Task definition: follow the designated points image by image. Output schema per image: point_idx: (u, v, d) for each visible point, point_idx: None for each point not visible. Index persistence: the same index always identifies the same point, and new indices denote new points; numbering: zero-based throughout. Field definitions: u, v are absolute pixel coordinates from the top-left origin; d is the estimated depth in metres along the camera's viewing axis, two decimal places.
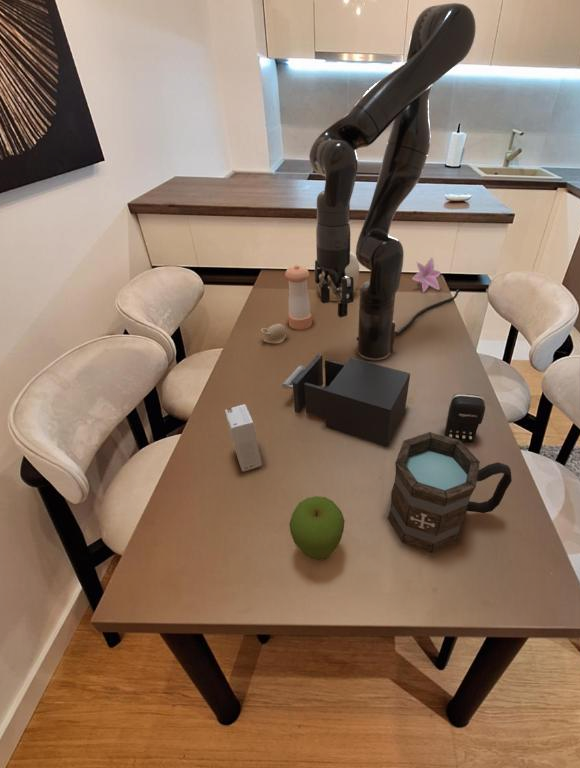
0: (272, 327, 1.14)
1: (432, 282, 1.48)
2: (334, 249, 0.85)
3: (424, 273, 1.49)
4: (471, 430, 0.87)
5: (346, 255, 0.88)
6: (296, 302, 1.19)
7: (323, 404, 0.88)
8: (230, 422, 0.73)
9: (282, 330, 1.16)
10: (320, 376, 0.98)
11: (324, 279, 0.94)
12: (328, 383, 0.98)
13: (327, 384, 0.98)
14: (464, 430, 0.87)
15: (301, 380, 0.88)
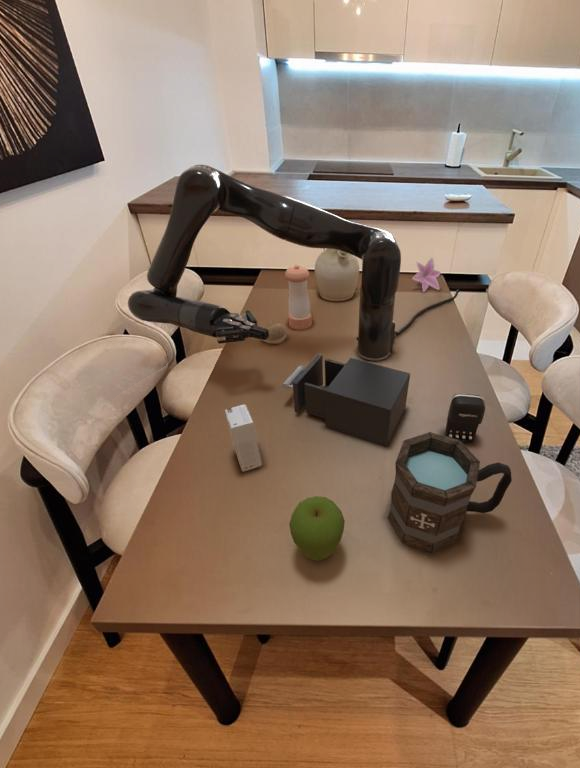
0: (272, 327, 1.14)
1: (432, 282, 1.48)
2: (197, 330, 0.94)
3: (424, 273, 1.49)
4: (471, 430, 0.87)
5: (200, 321, 0.91)
6: (296, 302, 1.19)
7: (323, 404, 0.88)
8: (230, 422, 0.73)
9: (282, 330, 1.16)
10: (320, 376, 0.98)
11: None
12: (328, 383, 0.98)
13: (327, 384, 0.98)
14: (464, 430, 0.87)
15: (301, 380, 0.88)
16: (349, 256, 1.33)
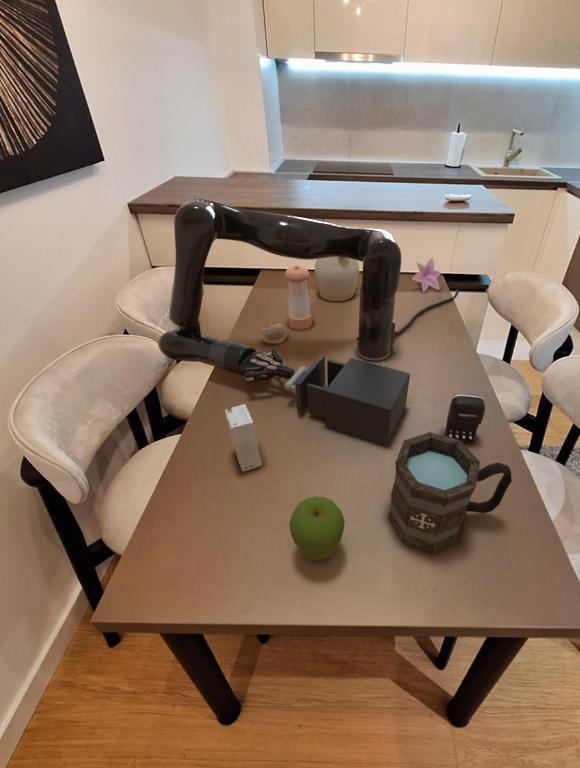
0: (272, 327, 1.14)
1: (432, 282, 1.48)
2: (225, 369, 0.98)
3: (424, 273, 1.49)
4: (471, 430, 0.87)
5: (229, 361, 0.96)
6: (296, 302, 1.19)
7: None
8: (230, 422, 0.73)
9: (282, 330, 1.16)
10: (322, 377, 0.98)
11: None
12: None
13: None
14: (464, 430, 0.87)
15: (303, 381, 0.88)
16: None
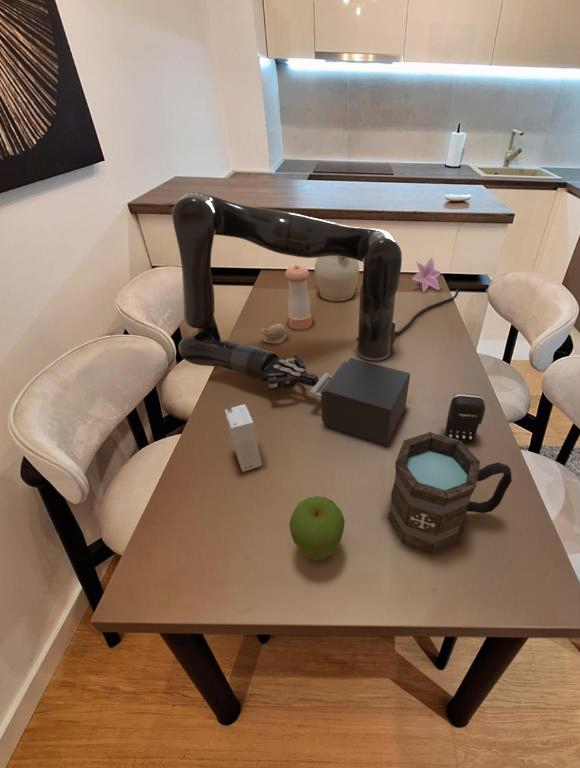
0: (272, 327, 1.14)
1: (432, 282, 1.48)
2: (247, 375, 0.96)
3: (424, 273, 1.49)
4: (471, 430, 0.87)
5: (251, 367, 0.94)
6: (296, 302, 1.19)
7: None
8: (230, 422, 0.73)
9: (282, 330, 1.16)
10: None
11: None
12: None
13: None
14: (464, 430, 0.87)
15: None
16: None
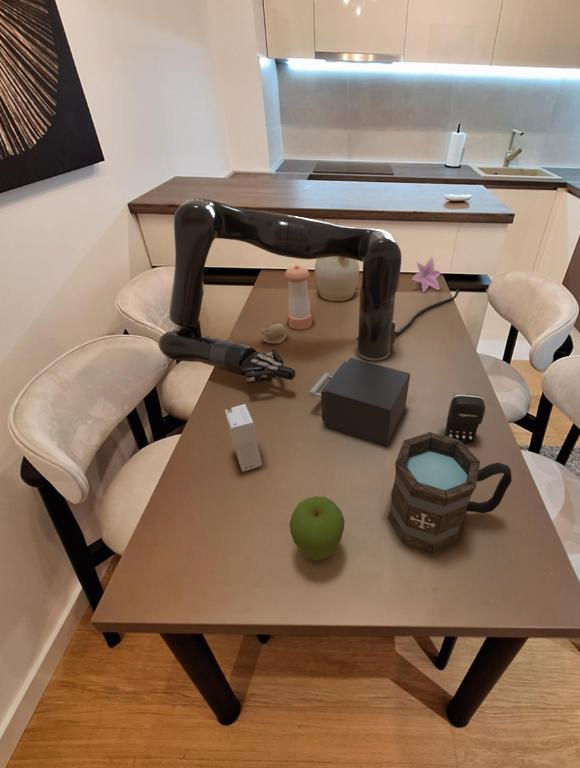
0: (272, 327, 1.14)
1: (432, 282, 1.48)
2: (226, 370, 0.98)
3: (424, 273, 1.49)
4: (471, 430, 0.87)
5: (229, 362, 0.95)
6: (296, 302, 1.19)
7: None
8: (230, 422, 0.73)
9: (282, 330, 1.16)
10: None
11: None
12: None
13: None
14: (464, 430, 0.87)
15: None
16: None
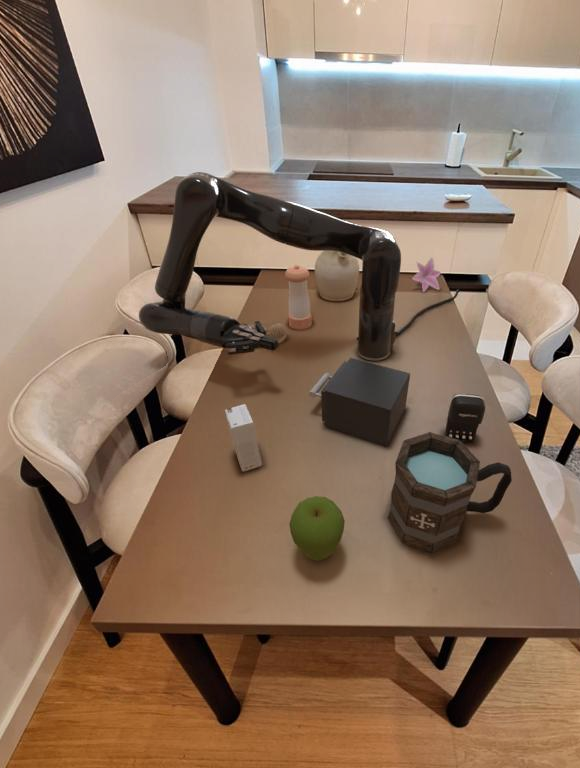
0: (272, 327, 1.14)
1: (432, 282, 1.48)
2: (207, 342, 0.95)
3: (424, 273, 1.49)
4: (471, 430, 0.87)
5: (210, 333, 0.92)
6: (296, 302, 1.19)
7: None
8: (230, 422, 0.73)
9: (282, 330, 1.16)
10: None
11: None
12: None
13: None
14: (464, 430, 0.87)
15: None
16: (349, 256, 1.33)
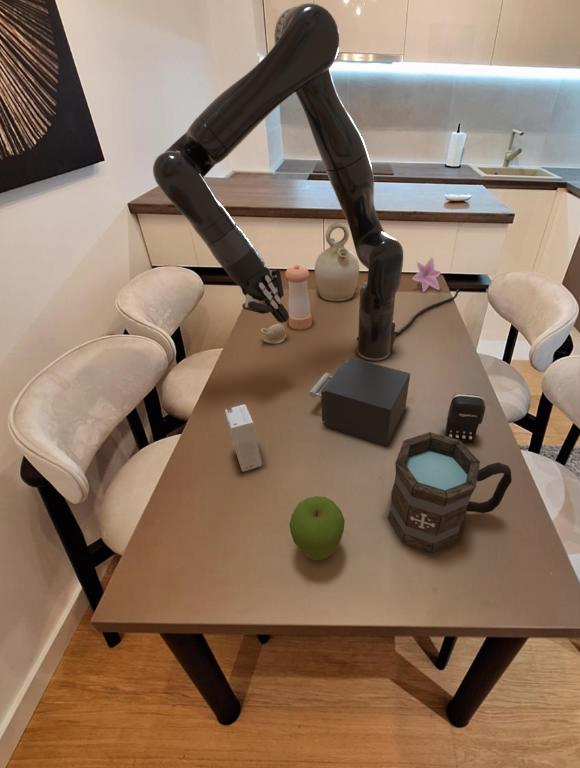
0: (272, 327, 1.14)
1: (432, 282, 1.48)
2: (222, 266, 0.79)
3: (424, 273, 1.49)
4: (471, 430, 0.87)
5: (237, 271, 0.78)
6: (296, 302, 1.19)
7: None
8: (230, 422, 0.73)
9: (282, 330, 1.16)
10: None
11: None
12: None
13: None
14: (464, 430, 0.87)
15: None
16: (349, 256, 1.33)
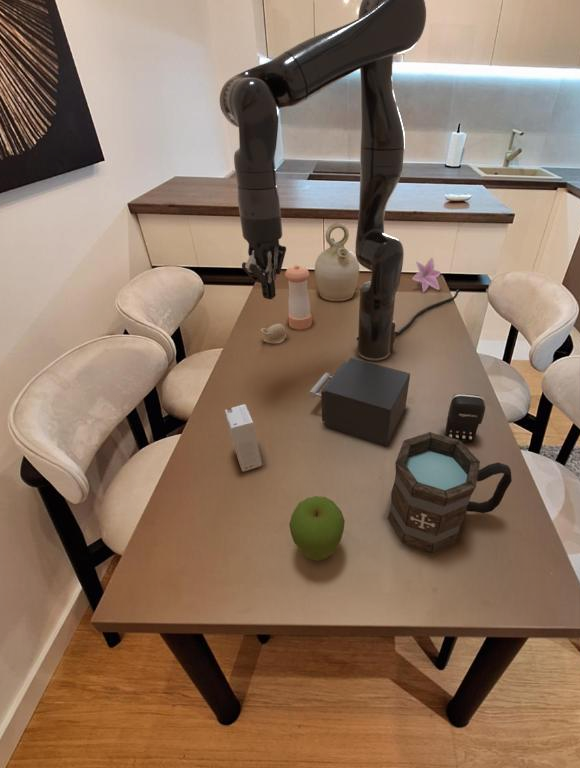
0: (272, 327, 1.14)
1: (432, 282, 1.48)
2: (242, 216, 0.72)
3: (424, 273, 1.49)
4: (471, 430, 0.87)
5: (256, 228, 0.73)
6: (296, 302, 1.19)
7: None
8: (230, 422, 0.73)
9: (282, 330, 1.16)
10: None
11: None
12: None
13: None
14: (464, 430, 0.87)
15: None
16: (349, 256, 1.33)
